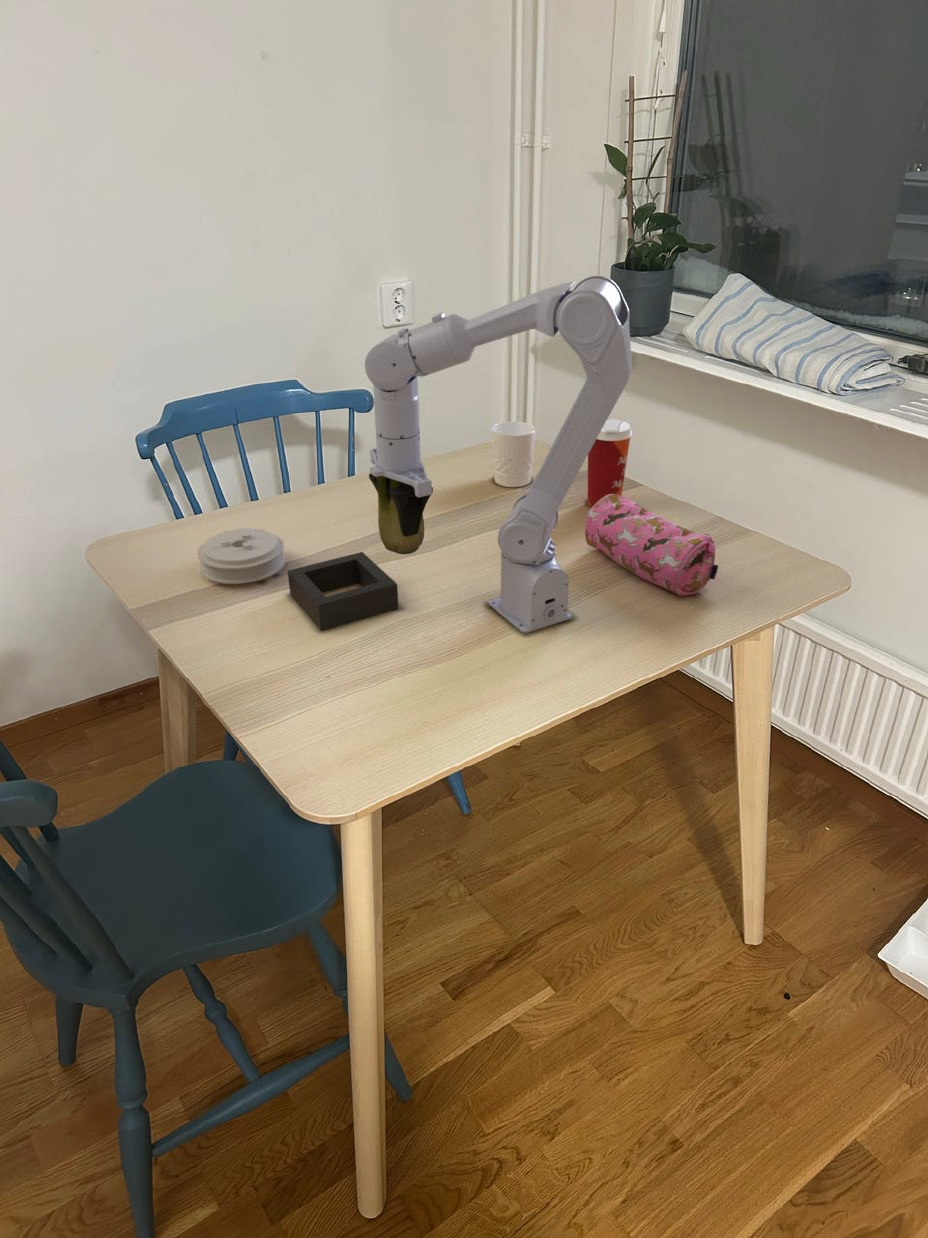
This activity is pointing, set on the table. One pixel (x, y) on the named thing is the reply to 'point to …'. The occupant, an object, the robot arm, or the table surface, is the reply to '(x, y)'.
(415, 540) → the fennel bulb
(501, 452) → the white cup
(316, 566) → the holder
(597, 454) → the paper cup
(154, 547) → the table surface
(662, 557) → the pencil case
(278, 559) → the lid
